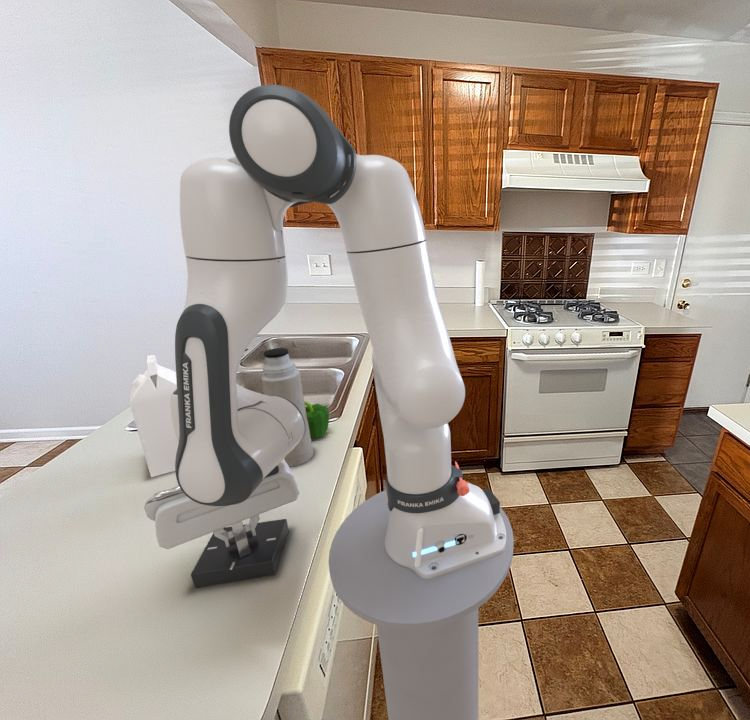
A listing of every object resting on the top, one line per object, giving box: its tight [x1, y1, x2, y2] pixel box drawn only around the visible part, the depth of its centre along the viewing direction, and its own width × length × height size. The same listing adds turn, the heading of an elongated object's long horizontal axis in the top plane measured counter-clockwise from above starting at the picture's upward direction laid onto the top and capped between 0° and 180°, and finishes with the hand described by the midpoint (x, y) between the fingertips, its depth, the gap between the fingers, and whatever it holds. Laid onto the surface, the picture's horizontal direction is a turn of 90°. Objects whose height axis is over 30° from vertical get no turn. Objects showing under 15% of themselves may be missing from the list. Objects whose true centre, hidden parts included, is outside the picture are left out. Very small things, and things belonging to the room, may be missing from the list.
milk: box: [129, 354, 179, 478], centre depth 94 cm, size 12×12×26 cm
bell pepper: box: [305, 401, 330, 441], centre depth 106 cm, size 8×8×10 cm
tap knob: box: [230, 521, 251, 558], centre depth 68 cm, size 6×2×4 cm, turn 38°
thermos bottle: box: [260, 347, 314, 467], centre depth 93 cm, size 8×8×28 cm
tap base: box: [190, 518, 290, 589], centre depth 69 cm, size 12×11×3 cm
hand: (241, 539), depth 68 cm, fingers closed on tap knob, 2 cm apart
